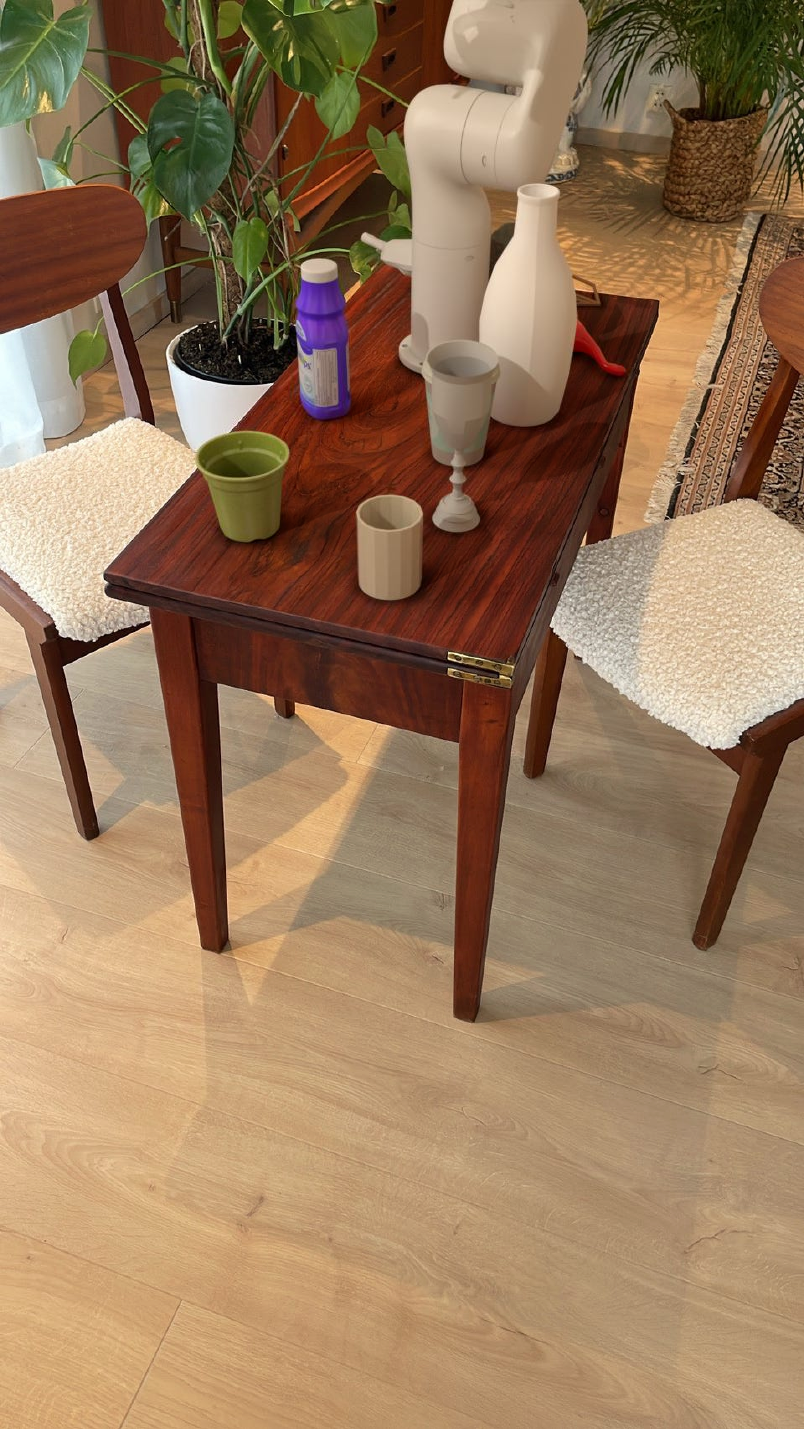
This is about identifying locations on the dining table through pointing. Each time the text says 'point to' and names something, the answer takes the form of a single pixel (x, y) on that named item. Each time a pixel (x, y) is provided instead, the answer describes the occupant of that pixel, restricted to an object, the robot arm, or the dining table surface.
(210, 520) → the dining table surface
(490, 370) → the chalice
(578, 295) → the emblem
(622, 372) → the dinosaur
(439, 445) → the coffee cup
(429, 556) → the dining table surface
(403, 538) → the paper cup
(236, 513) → the plant pot
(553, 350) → the bottle
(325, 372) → the bottle
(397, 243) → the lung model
